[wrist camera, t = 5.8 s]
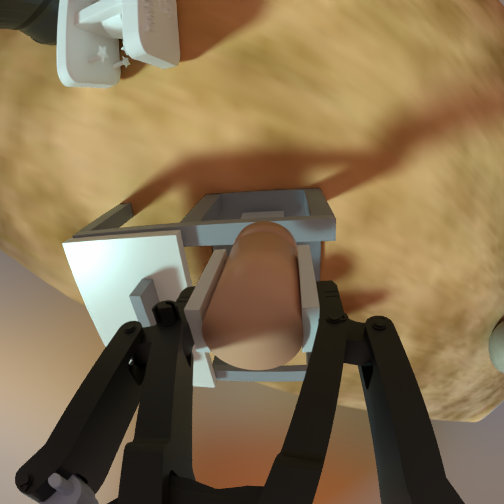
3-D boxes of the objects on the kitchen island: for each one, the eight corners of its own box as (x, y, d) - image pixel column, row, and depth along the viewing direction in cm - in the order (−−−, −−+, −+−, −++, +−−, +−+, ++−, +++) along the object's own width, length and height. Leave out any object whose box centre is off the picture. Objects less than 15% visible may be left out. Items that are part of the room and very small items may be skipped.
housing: (118, 204, 36) (72, 235, 27) (319, 188, 33) (336, 219, 23) (153, 323, 46) (128, 369, 36) (317, 324, 42) (323, 379, 32)
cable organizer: (110, 1, 23) (60, -21, 12) (180, -24, 21) (144, -63, 11) (113, 89, 29) (55, 87, 19) (188, 68, 28) (145, 50, 17)
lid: (68, 238, 26) (45, 256, 23) (180, 229, 25) (163, 250, 21) (124, 369, 35) (113, 390, 32) (216, 380, 34) (210, 406, 30)
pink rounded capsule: (229, 223, 20) (192, 296, 12) (295, 219, 19) (303, 293, 11) (237, 280, 22) (212, 369, 14) (298, 277, 21) (303, 369, 13)
